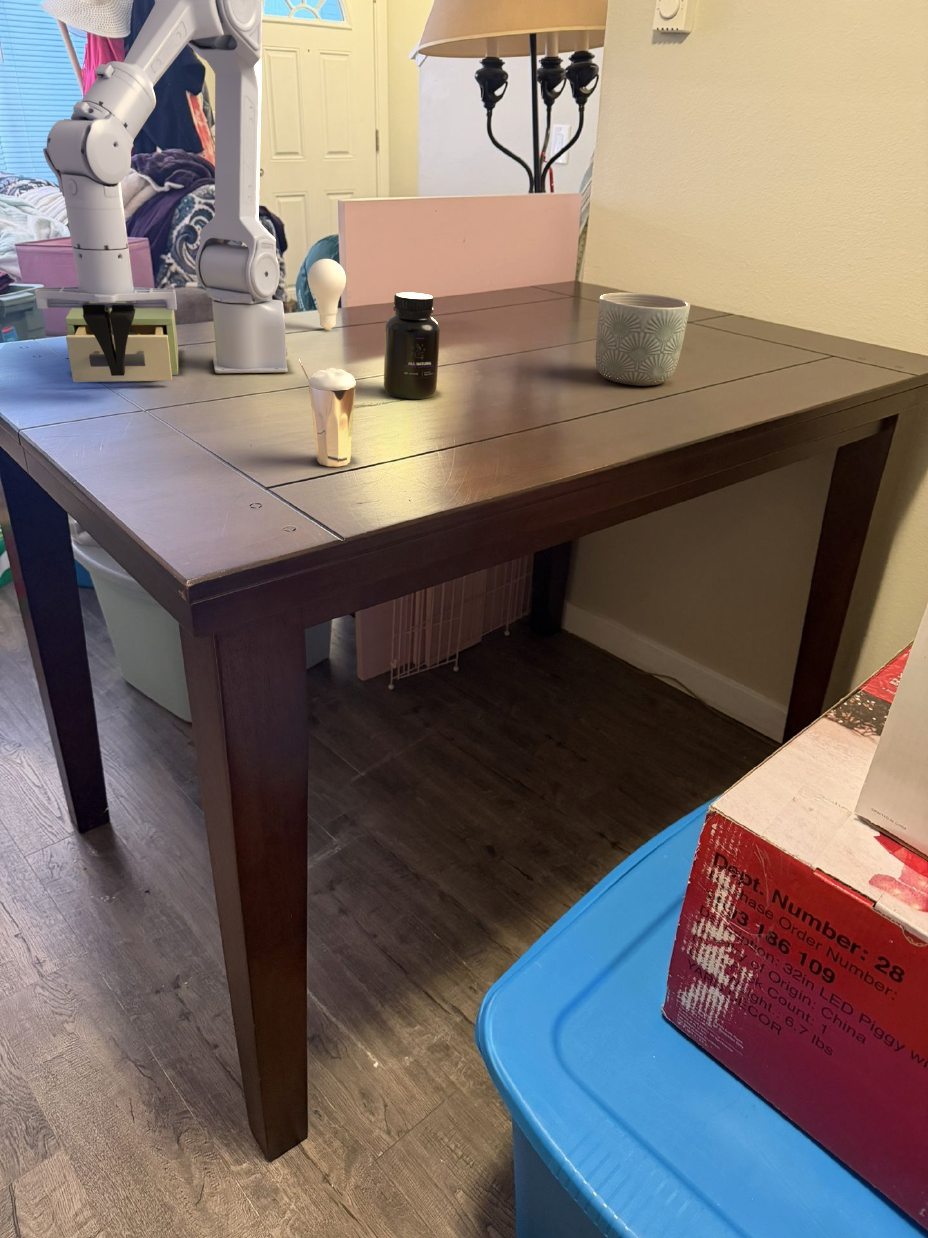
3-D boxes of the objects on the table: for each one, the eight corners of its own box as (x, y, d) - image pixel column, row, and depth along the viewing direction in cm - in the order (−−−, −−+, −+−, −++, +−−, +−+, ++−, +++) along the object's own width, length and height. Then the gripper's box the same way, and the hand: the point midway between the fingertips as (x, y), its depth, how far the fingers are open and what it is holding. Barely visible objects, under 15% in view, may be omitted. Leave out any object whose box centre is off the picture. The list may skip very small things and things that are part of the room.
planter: (573, 376, 125) (582, 296, 119) (621, 365, 133) (632, 289, 128) (646, 395, 118) (659, 311, 112) (692, 382, 126) (707, 302, 121)
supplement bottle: (417, 403, 108) (420, 302, 102) (373, 393, 111) (373, 294, 105) (447, 392, 113) (451, 295, 107) (404, 383, 116) (406, 288, 110)
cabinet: (178, 374, 114) (172, 318, 111) (74, 376, 111) (65, 318, 107) (178, 351, 125) (172, 299, 122) (84, 352, 122) (76, 298, 119)
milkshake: (304, 453, 89) (300, 354, 85) (356, 454, 90) (356, 356, 85) (301, 468, 85) (297, 365, 81) (355, 469, 86) (355, 367, 81)
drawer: (171, 389, 104) (166, 344, 102) (69, 391, 101) (61, 344, 99) (172, 357, 118) (168, 316, 116) (82, 358, 115) (76, 316, 113)
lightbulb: (339, 335, 141) (338, 262, 136) (304, 331, 142) (301, 259, 137) (351, 328, 146) (350, 258, 141) (316, 324, 147) (314, 254, 142)
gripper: (21, 250, 89) (45, 383, 96) (170, 253, 93) (183, 381, 99) (31, 241, 95) (53, 367, 101) (171, 245, 99) (183, 366, 105)
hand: (118, 373), depth 101 cm, fingers closed, pressing on drawer
